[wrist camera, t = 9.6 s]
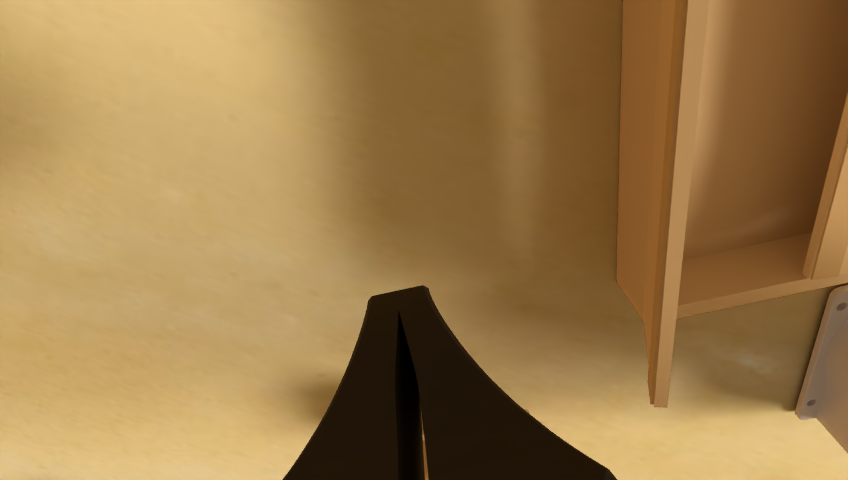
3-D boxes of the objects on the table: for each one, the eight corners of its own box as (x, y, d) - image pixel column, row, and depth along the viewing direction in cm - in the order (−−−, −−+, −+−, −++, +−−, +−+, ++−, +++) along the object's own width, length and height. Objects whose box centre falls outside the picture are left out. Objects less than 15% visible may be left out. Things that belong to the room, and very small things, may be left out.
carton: (852, 231, 25) (909, 269, 23) (616, 281, 25) (646, 325, 23) (986, -215, 17) (1101, -233, 14) (626, -141, 17) (676, -146, 14)
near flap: (667, 407, 18) (651, 406, 19) (653, 315, 22) (640, 315, 22) (719, -92, 11) (690, -87, 11) (684, -109, 14) (663, -106, 14)
